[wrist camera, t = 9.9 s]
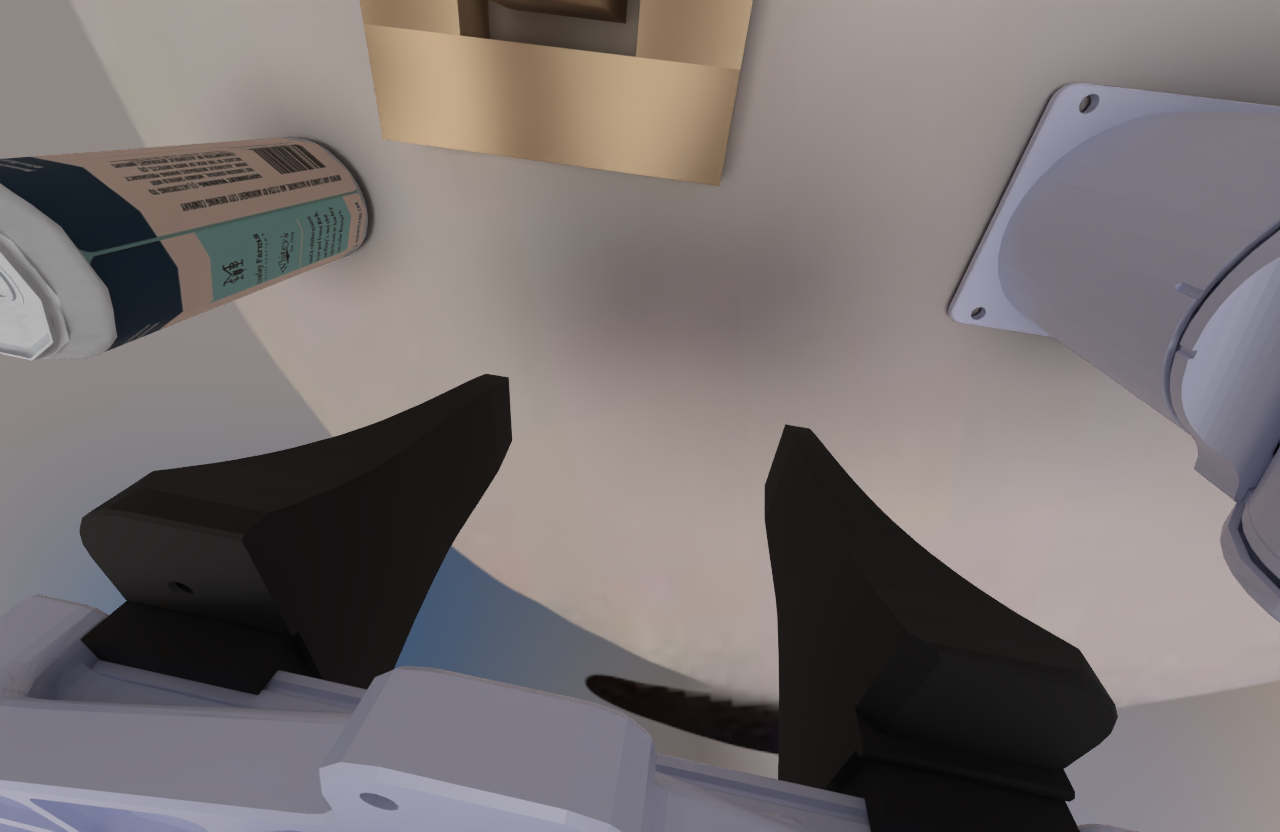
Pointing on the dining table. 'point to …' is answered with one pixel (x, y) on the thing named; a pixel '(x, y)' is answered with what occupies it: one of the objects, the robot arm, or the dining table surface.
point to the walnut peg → (573, 8)
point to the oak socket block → (562, 82)
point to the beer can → (160, 236)
